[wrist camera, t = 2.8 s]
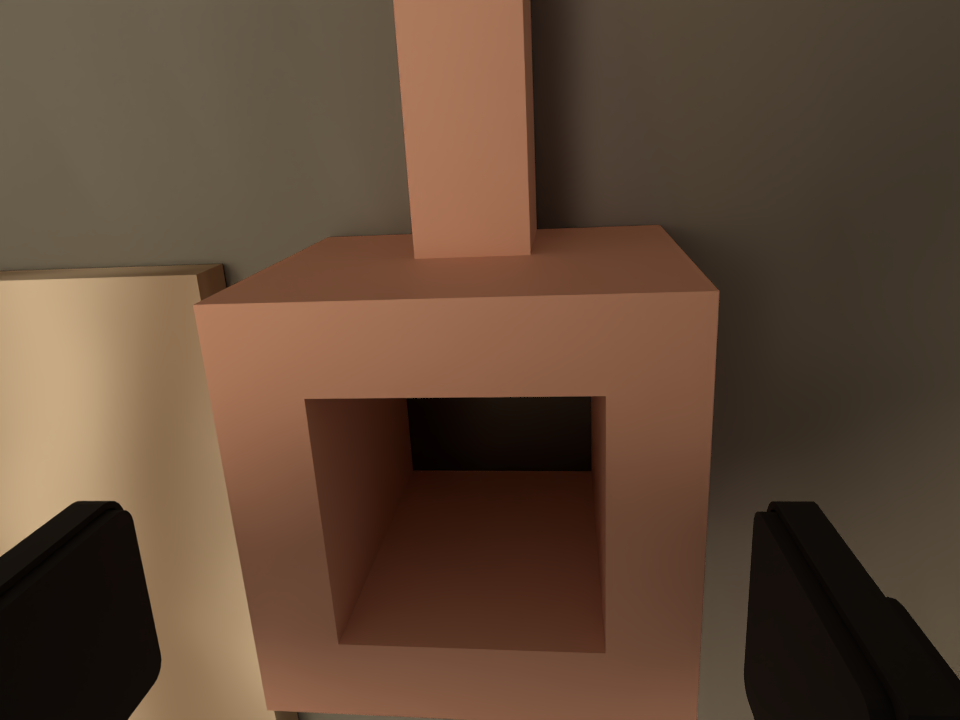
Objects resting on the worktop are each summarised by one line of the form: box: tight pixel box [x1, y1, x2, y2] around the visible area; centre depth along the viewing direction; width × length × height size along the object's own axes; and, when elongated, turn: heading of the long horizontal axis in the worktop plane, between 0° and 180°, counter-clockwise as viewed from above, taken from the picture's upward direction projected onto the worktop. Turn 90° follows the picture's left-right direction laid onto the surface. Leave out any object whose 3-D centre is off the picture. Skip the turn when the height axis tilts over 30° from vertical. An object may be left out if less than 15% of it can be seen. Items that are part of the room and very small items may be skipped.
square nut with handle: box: [193, 0, 719, 720], centre depth 12 cm, size 12×7×6 cm, turn 3°
